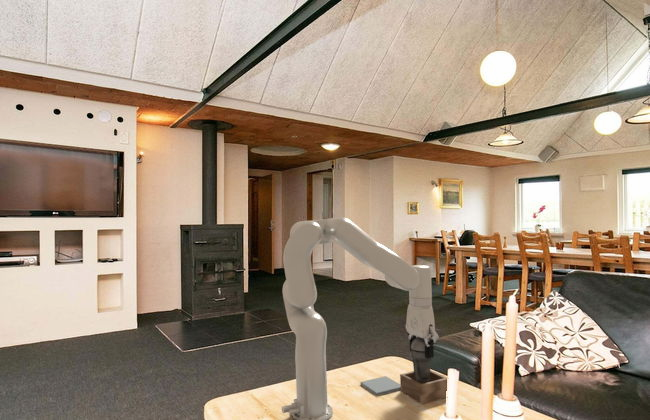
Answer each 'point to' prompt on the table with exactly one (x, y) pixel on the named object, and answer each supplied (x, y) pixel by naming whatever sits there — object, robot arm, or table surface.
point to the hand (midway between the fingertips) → (421, 353)
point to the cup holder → (424, 387)
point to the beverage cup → (420, 361)
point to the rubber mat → (381, 385)
